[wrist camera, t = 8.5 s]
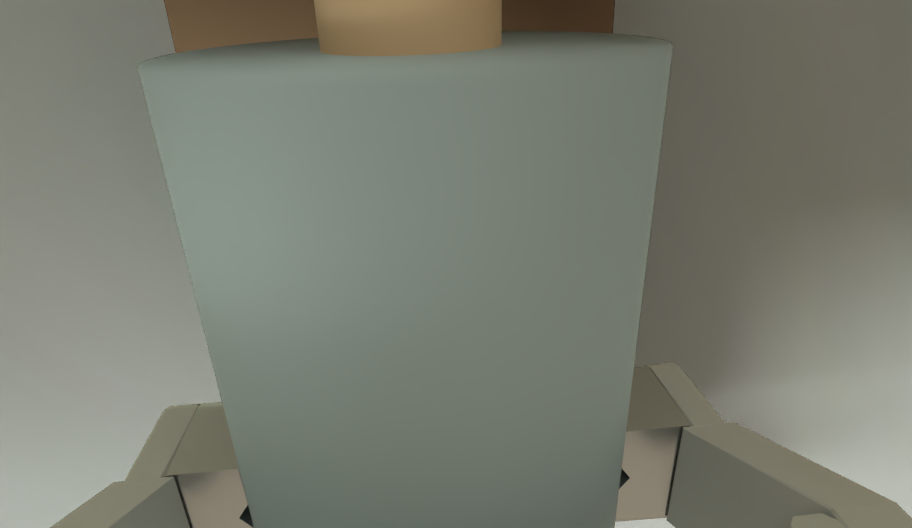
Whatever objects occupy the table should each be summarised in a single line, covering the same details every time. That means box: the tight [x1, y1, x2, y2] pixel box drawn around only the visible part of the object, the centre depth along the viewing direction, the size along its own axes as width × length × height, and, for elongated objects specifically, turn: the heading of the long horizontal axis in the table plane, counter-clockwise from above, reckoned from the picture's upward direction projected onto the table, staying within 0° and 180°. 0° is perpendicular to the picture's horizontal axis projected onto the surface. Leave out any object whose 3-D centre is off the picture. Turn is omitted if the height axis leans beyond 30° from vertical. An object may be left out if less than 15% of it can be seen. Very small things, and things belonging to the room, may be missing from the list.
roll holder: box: [164, 0, 615, 53], centre depth 11 cm, size 17×9×8 cm, turn 2°
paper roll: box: [137, 0, 673, 528], centre depth 9 cm, size 16×6×6 cm, turn 2°
